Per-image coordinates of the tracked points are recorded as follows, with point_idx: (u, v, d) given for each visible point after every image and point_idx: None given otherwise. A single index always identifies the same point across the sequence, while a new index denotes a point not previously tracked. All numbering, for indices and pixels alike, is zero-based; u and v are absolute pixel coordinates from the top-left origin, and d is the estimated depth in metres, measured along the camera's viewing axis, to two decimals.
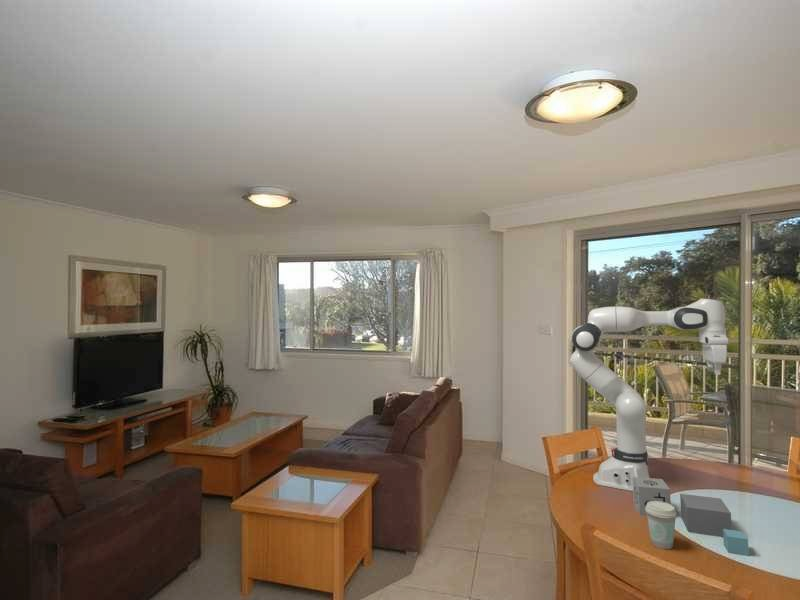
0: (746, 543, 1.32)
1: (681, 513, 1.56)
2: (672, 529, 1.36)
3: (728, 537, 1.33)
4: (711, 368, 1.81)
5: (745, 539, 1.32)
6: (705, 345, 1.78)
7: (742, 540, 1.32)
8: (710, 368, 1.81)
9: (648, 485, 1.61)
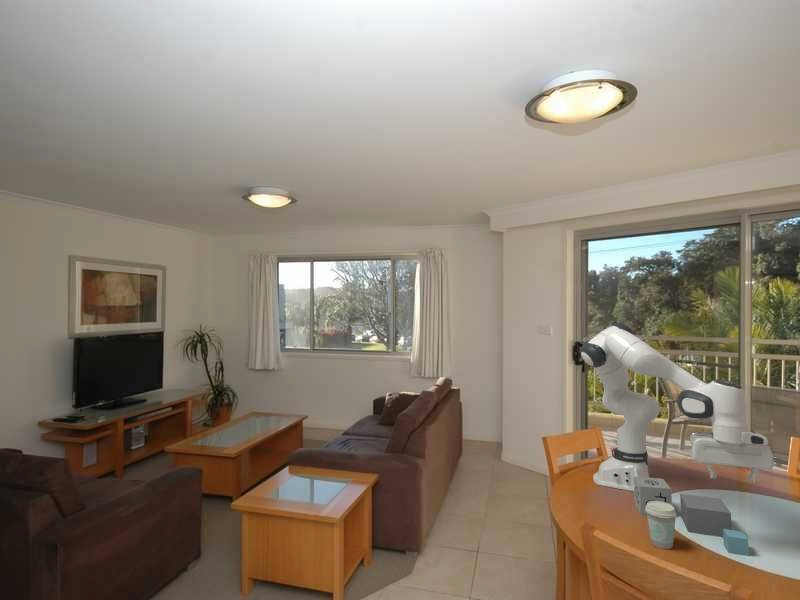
0: (746, 543, 1.32)
1: (681, 513, 1.56)
2: (672, 529, 1.36)
3: (728, 537, 1.33)
4: None
5: (745, 539, 1.32)
6: (738, 446, 1.33)
7: (742, 540, 1.32)
8: None
9: (649, 485, 1.61)
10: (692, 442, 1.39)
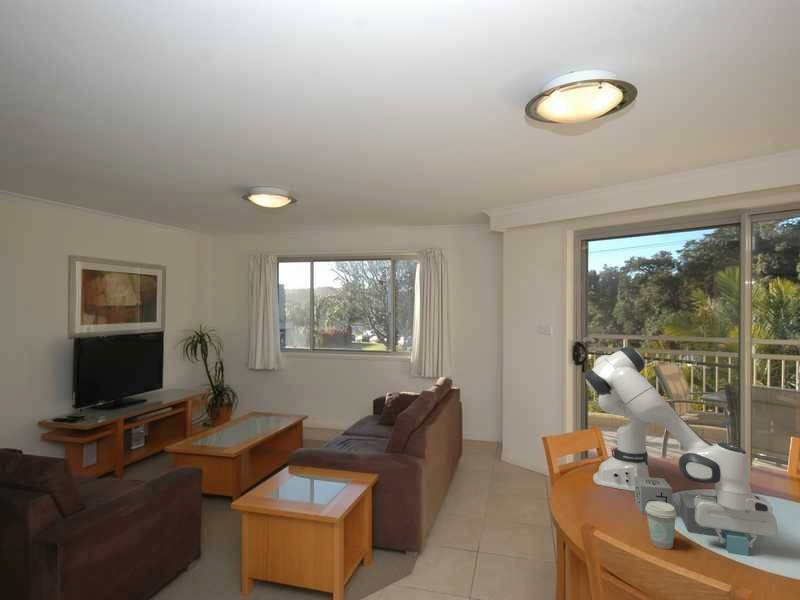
0: (746, 543, 1.32)
1: (681, 513, 1.56)
2: (672, 529, 1.36)
3: (728, 537, 1.33)
4: None
5: (745, 539, 1.32)
6: (742, 512, 1.32)
7: (742, 540, 1.32)
8: None
9: (650, 484, 1.61)
10: (696, 505, 1.38)
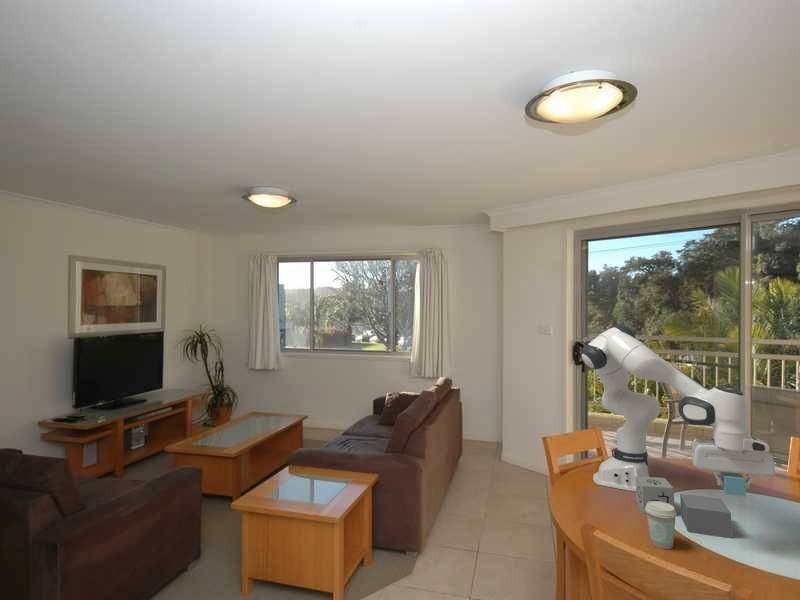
0: (743, 483, 1.32)
1: (681, 513, 1.56)
2: (672, 529, 1.36)
3: (726, 478, 1.34)
4: None
5: (742, 479, 1.32)
6: (739, 453, 1.33)
7: (739, 480, 1.33)
8: None
9: (652, 484, 1.61)
10: (693, 449, 1.39)
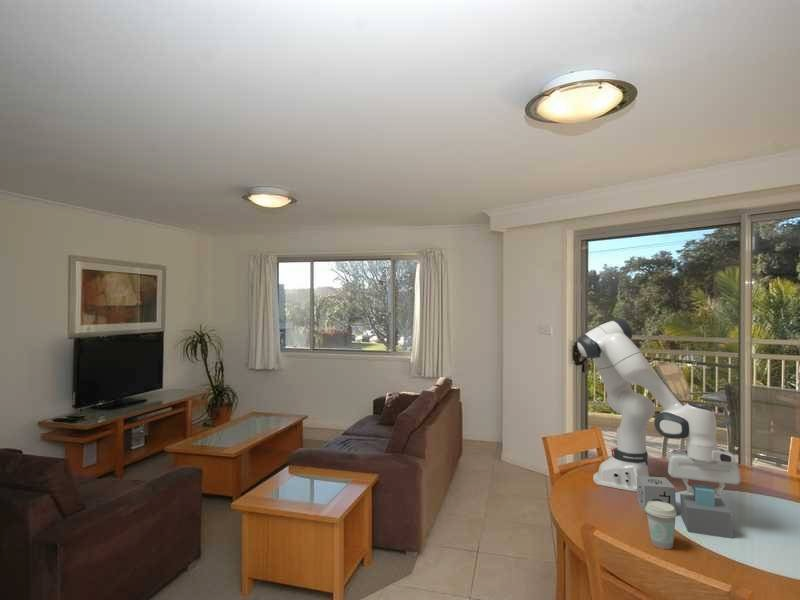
0: (712, 495, 1.47)
1: (681, 513, 1.56)
2: (672, 529, 1.36)
3: (697, 490, 1.49)
4: None
5: (711, 491, 1.47)
6: (709, 463, 1.47)
7: (709, 492, 1.47)
8: None
9: (653, 484, 1.62)
10: (668, 459, 1.54)
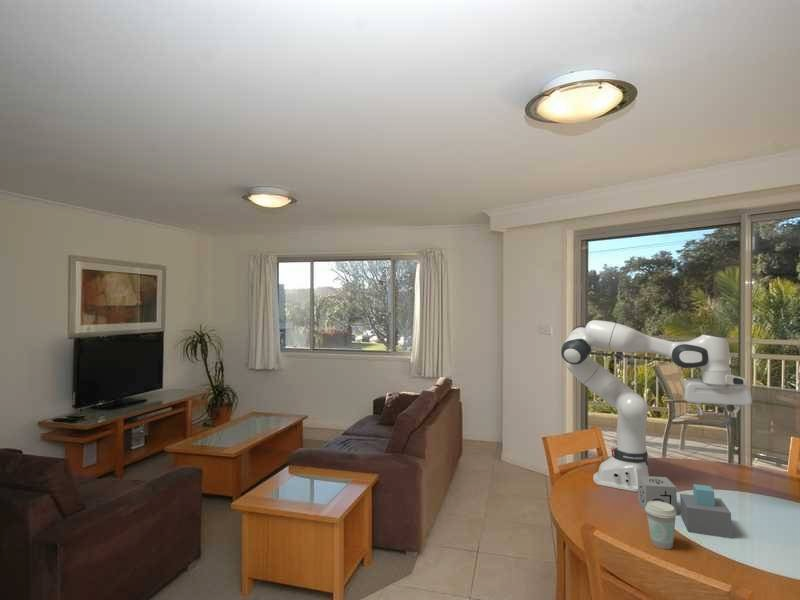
0: (712, 495, 1.47)
1: (681, 513, 1.56)
2: (672, 529, 1.36)
3: (697, 490, 1.49)
4: None
5: (711, 491, 1.47)
6: (722, 387, 1.60)
7: (709, 492, 1.47)
8: None
9: (654, 483, 1.62)
10: (685, 386, 1.66)
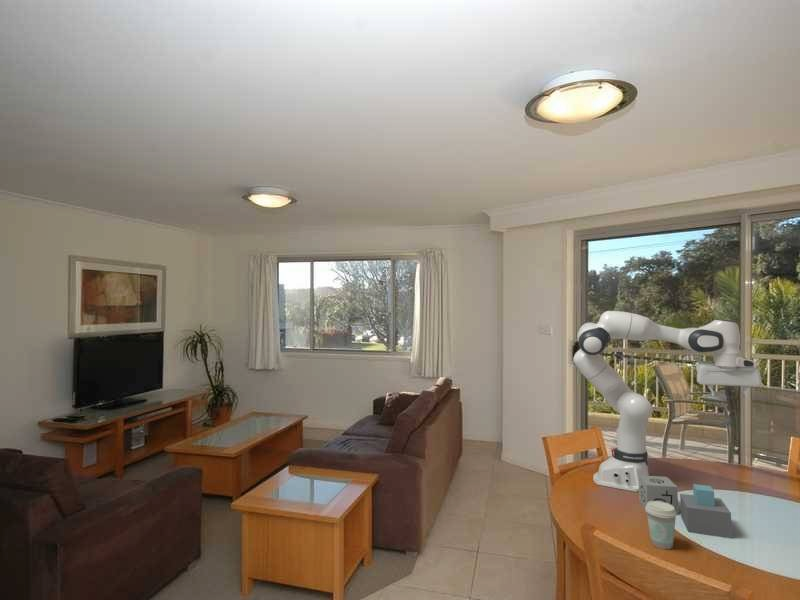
0: (712, 495, 1.47)
1: (681, 513, 1.56)
2: (672, 529, 1.36)
3: (697, 490, 1.49)
4: None
5: (711, 491, 1.47)
6: (733, 369, 1.69)
7: (709, 492, 1.47)
8: None
9: (655, 483, 1.62)
10: (697, 369, 1.75)
